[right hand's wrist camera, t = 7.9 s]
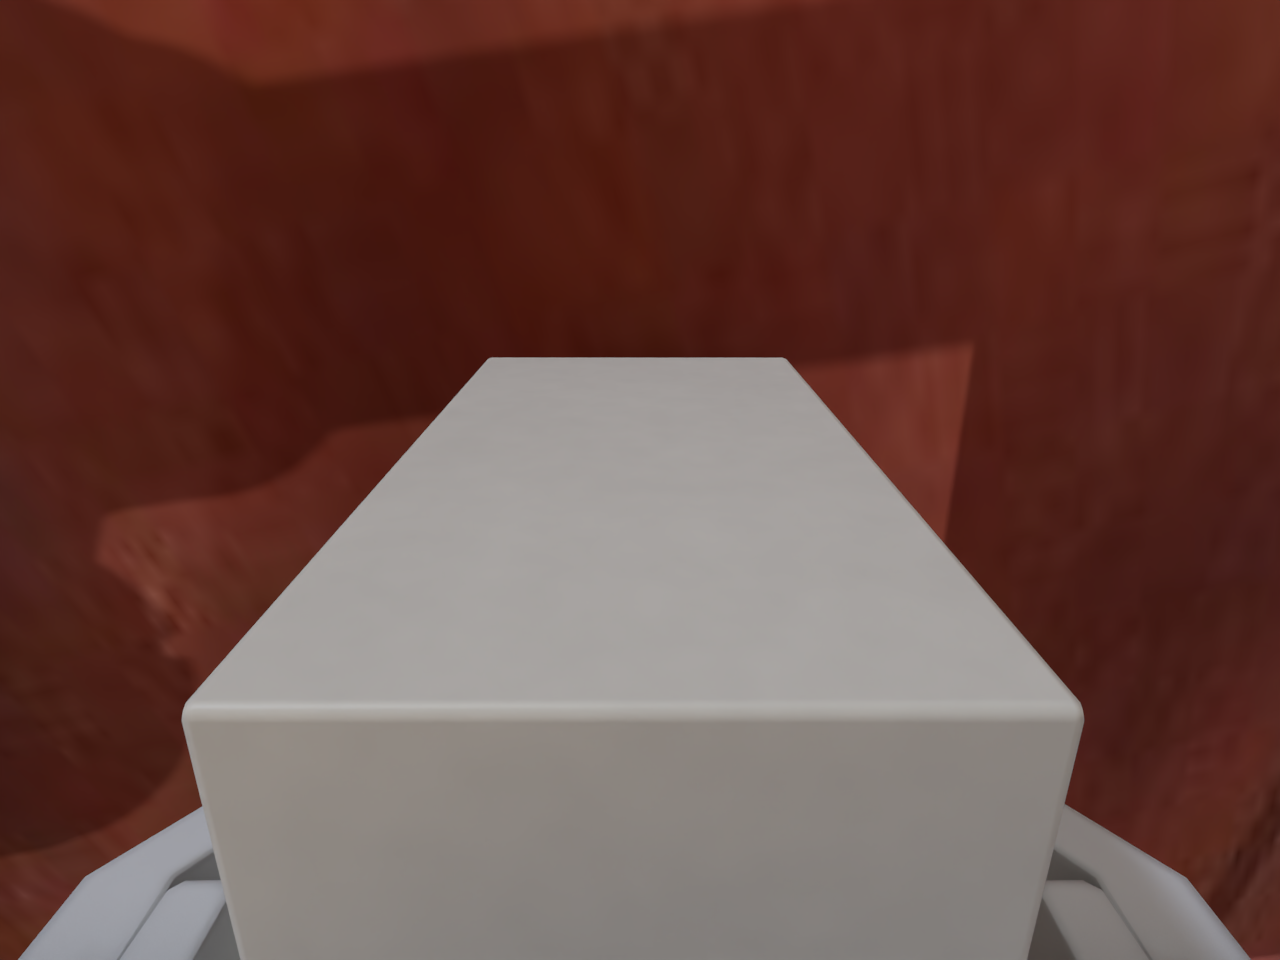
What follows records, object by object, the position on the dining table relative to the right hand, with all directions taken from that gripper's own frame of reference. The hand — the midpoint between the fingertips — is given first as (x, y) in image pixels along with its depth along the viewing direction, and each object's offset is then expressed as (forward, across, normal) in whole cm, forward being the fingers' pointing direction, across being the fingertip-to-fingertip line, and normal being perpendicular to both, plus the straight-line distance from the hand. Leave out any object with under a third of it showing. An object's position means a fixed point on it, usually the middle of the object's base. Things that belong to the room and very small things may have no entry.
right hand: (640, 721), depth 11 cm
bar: (+4, 0, -9) cm, 10 cm away
